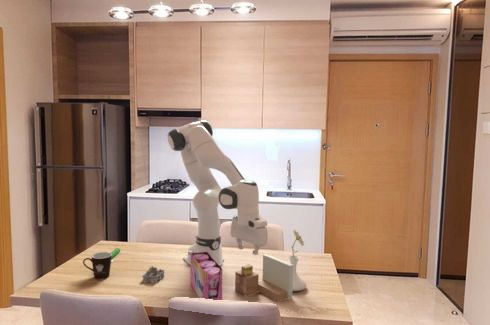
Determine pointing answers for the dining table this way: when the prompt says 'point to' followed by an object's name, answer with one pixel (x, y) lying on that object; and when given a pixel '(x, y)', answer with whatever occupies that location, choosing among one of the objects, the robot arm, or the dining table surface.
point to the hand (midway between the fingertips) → (248, 251)
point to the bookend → (276, 278)
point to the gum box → (206, 276)
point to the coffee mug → (100, 264)
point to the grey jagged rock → (151, 277)
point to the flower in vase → (297, 281)
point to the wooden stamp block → (246, 281)
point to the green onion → (115, 252)
